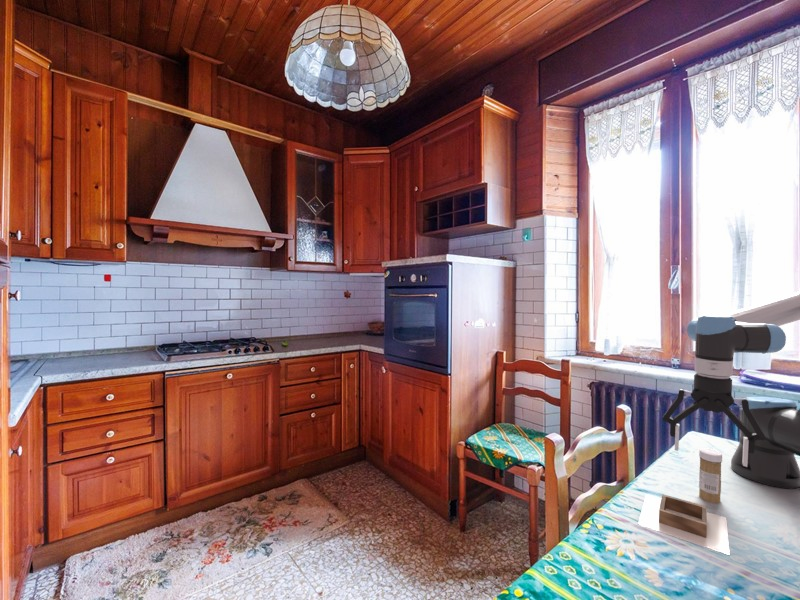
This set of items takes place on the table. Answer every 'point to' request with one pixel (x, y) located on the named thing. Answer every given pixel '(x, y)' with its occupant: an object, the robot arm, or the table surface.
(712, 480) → the sprinkles bottle
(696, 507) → the collar
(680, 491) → the table surface
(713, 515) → the tile
